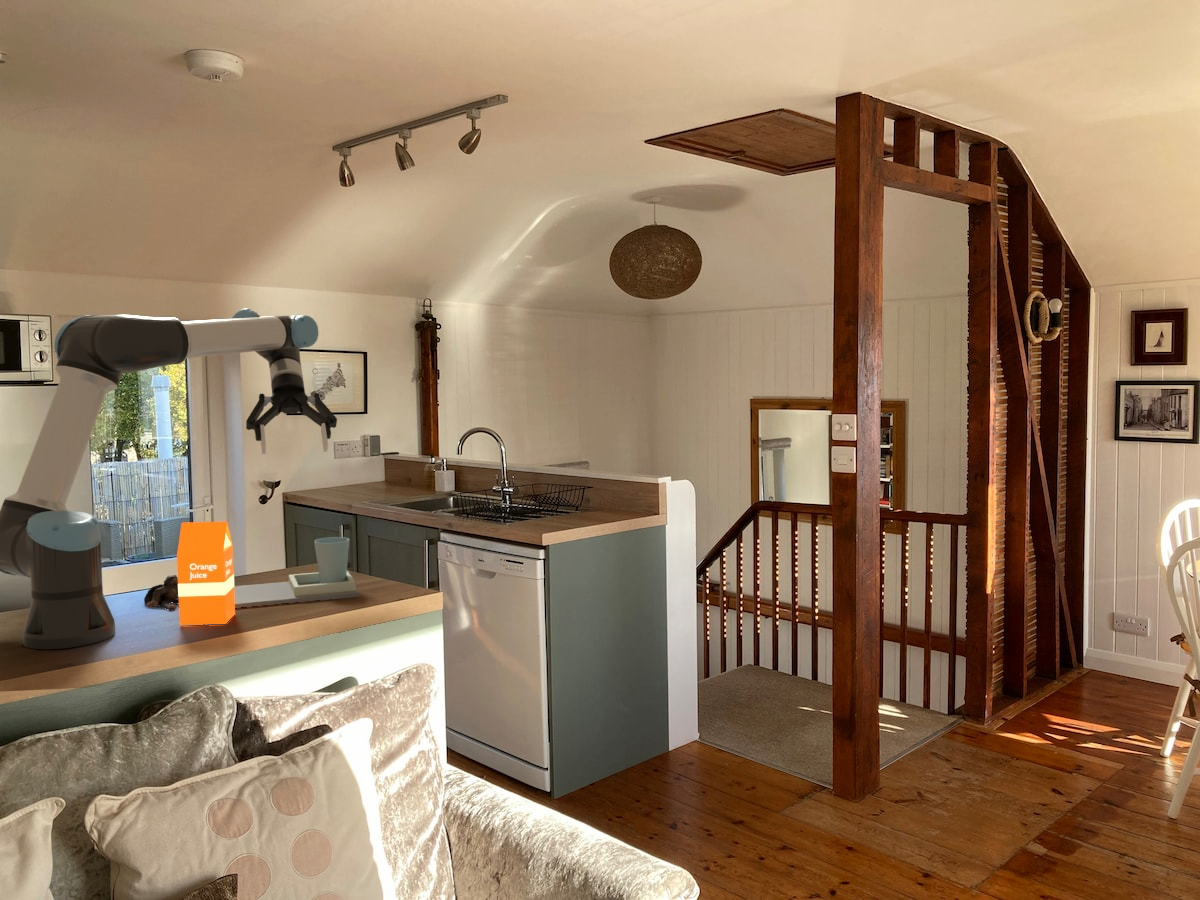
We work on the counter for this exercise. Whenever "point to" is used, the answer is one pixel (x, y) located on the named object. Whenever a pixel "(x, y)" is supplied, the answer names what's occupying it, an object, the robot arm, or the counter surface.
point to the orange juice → (205, 574)
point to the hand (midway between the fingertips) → (295, 449)
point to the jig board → (294, 591)
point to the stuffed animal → (163, 594)
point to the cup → (332, 559)
